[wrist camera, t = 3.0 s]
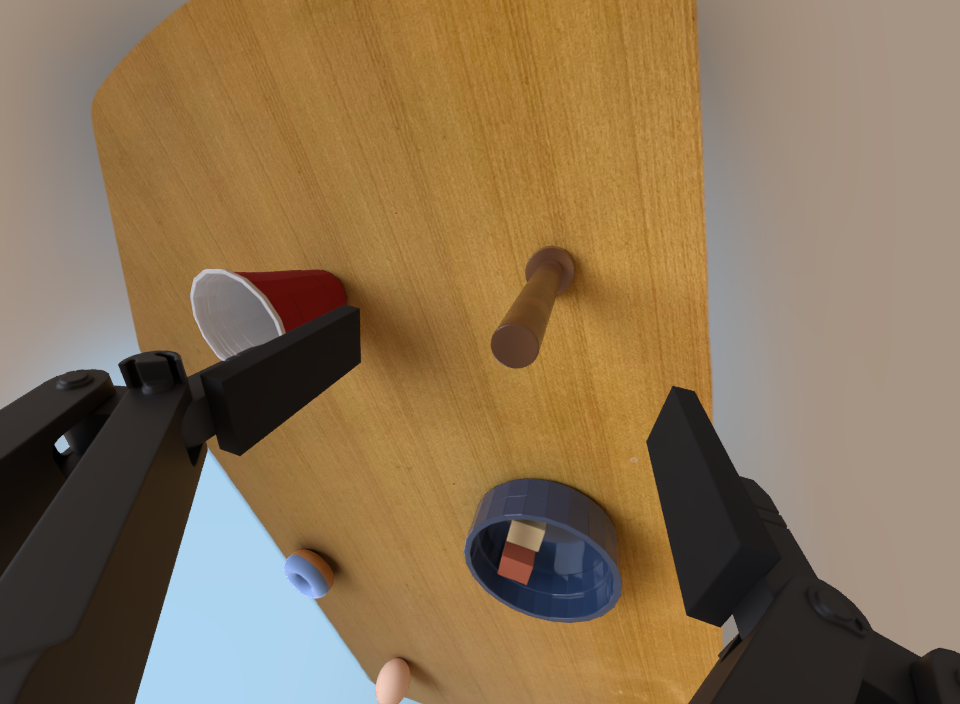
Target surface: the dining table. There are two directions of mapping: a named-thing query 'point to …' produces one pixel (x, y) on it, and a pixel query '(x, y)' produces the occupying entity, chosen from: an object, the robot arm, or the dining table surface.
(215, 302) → the plastic cup
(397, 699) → the egg
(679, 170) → the dining table surface
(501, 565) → the terracotta block
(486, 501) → the bowl
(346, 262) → the dining table surface
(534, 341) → the muddler
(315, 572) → the doughnut
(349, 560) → the dining table surface
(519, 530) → the birch block
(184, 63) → the dining table surface
